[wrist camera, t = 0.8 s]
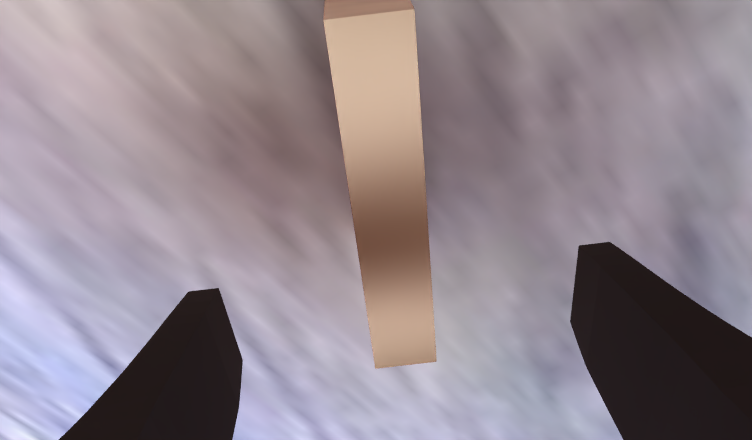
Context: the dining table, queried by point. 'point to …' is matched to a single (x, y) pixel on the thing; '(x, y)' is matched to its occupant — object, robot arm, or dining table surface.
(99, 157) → the dining table surface
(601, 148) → the dining table surface
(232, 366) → the robot arm
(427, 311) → the beige slab block
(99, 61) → the dining table surface
